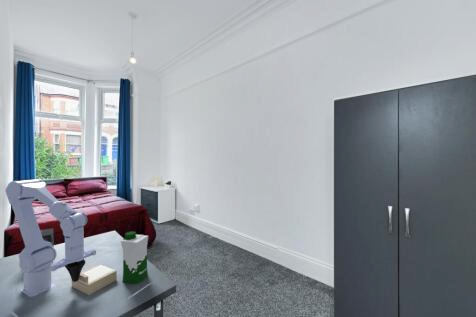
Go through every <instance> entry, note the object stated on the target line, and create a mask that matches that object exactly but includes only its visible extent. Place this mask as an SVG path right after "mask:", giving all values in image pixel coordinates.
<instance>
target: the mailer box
mask: <svg viewBox="0 0 476 317" xmlns="http://www.w3.org/2000/svg"><path fill="white" fill-rule="evenodd" d="M99 265H102V264H100V263H99V264H97V265H95V266H92V267H90V268H87V269H85V270H83V271H81V273H84V272H86V271H88V270H90V269H92V268H95V267H97V266H99ZM114 270H115V271H113V272H111V273H109V274H107V275H105V276H103V277H101V278H99V279H97V280H95V281H93V282H91V283H89V284H88V285H85V284H83V283H81V282H79V281H76V282H73V281H72V280H71V287H72V288H74V289H76V290H78V291H80V292H82V293H84V294H85V295H87V296H90V295H92V294H94V293H96V292H98V291H99V290H101V289H104V288H105V287H107V286H108V285H110V284H112V283H114V282H116V281H117V272H118V271H117V270H116V269H114Z"/></svg>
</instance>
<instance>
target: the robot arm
mask: <svg viewBox="0 0 476 317" xmlns="http://www.w3.org/2000/svg"><path fill="white" fill-rule="evenodd" d="M5 194H6V197H7V200H8V204H9V205H11V207H12V210H13V213H14V216H15V219H16V222H17V226H18V228H19V231H20V234H21V237H22V240H23V244H24V248H23V249H22V250H21V252H20V253H19V254H18V258H19V268H20V270H21V271H23V276H22V277H23V278H22V279H23V280H22V281H23V288H21V289H20V292H22V293H23V294H25V295H27V296H28V297H29V298H33V297H36V296H37V295H40V294H42V293H43V292H45V291H48V290H51V289H53V288H55V287H56V286H57V284H55V283H53V282H52V272H56V271H57V270H58V269H61V268H63V267H65V269H66V271H68V274H69V276H70V279H71V282H72V281H73V282H76V281H78V280H79V276H80V273H81V272H82V270H83V268H84V267H85V264H86V258H89V257H91V256H96V255H97V249H96V248H95V249H94V248H92V249H89V250H85V248H84V247H85V240H84V239H85V237H84V234H85V232H84V231H85V230H84V226H86V225H87V223H88V217H87V215H86V214H85V212H83V211H78V210H75V209H74V208H72V207H71V206H70V205H69V204H68V203H67V202H66V201H63V200H61V201H60V200H58V199H57V198H56V197H55V196H54V195H53V194H52V193H51V192H50V191H49V190H48V189H47V183H46V182H45V181H43V179H42V178H33V179H26V180H25V179H23V180H12V181H10V182H9V183H8V184H7V185H6V188H5ZM36 200H38V201H39V202H41V203H42V204H43V205H45V206H46V207H48V208H49V209H48V212H49V213H50V215H51V216H53V217H54V218H55V219H56V220H57V221H58V222H59V226H60V229H61V230H62V235H63V236H64V258H62V259H60V260H58V261H57V262H54V261H55V260H56V258H57V250H56V249H55V247H54V248H53V246H52V244H51V242H47V241H44V240H43V238H42V235H41V232H40V230H41V229H40V226H39V223H38V219H37V218H36V214H35V211H34V208H33V205H32V204H33V202H34V201H36ZM38 249H41V250H39V251H36V252H34V253H32V252H33V251H35V250H38Z"/></svg>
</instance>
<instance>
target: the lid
mask: <svg viewBox="0 0 476 317" xmlns="http://www.w3.org/2000/svg"><path fill="white" fill-rule="evenodd" d="M98 265H99V264H98ZM91 268H92V267H91ZM89 269H90V268H89ZM115 270H116V269H113V268H111V267H108V266H105V265H103V264H101V265H99V266H97V267H95V268H92V269H90V270H88V271H86V272H84V273H80V276H79V280H78V281H79V282H81V283H83V284H85V285H88V284H89V283H91V282H93V281H95V280H97V279H99V278H101V277H103V276H105V275H107V274H109V273H111V272H113V271H115Z"/></svg>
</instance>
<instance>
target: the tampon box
mask: <svg viewBox="0 0 476 317" xmlns="http://www.w3.org/2000/svg"><path fill="white" fill-rule="evenodd" d="M40 232H41V235H42V238H43V240H44V241H47V242H51V244H52V246H53V248H54V249H55V247H54V244H55V242H54V240H55V239H54V228H46V229H40ZM39 250H41V249H38V250H35V251H33V252H32V253H34V252H36V251H39Z"/></svg>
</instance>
